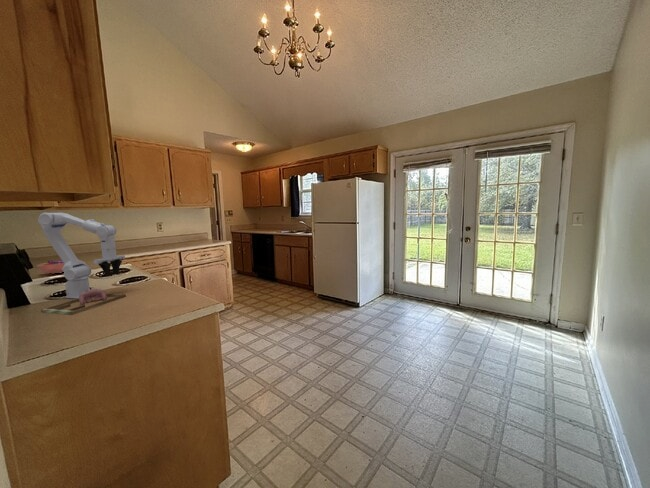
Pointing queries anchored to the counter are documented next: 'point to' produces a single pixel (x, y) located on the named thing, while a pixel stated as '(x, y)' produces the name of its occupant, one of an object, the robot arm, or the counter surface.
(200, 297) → the counter surface
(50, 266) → the cell model
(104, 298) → the video game controller
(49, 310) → the shallow wooden tray
